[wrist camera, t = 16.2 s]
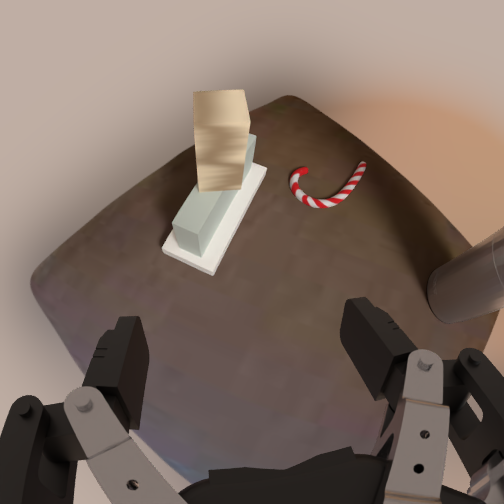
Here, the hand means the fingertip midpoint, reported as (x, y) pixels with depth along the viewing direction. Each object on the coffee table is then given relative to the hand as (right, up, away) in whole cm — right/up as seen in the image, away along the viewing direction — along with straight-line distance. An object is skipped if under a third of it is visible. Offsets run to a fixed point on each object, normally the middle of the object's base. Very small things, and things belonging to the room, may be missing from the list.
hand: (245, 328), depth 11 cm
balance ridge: (-4, +8, +28) cm, 30 cm away
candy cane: (+13, +14, +33) cm, 38 cm away
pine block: (-3, +11, +21) cm, 24 cm away
